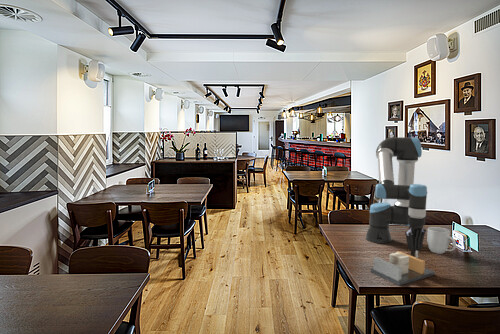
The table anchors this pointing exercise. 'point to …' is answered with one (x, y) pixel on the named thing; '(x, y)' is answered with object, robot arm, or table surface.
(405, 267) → the block
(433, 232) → the mug
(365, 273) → the table surface
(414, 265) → the bar
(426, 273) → the base
